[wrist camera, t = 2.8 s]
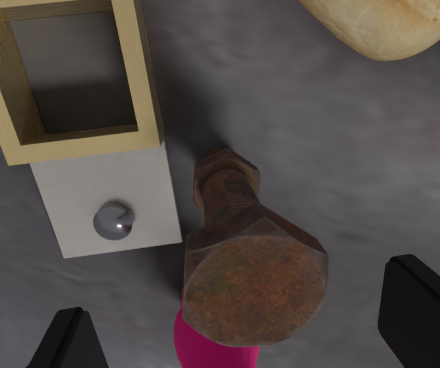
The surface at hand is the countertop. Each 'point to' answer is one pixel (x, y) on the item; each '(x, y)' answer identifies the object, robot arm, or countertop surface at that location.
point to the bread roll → (380, 25)
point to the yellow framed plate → (93, 145)
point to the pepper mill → (208, 349)
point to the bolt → (247, 261)
